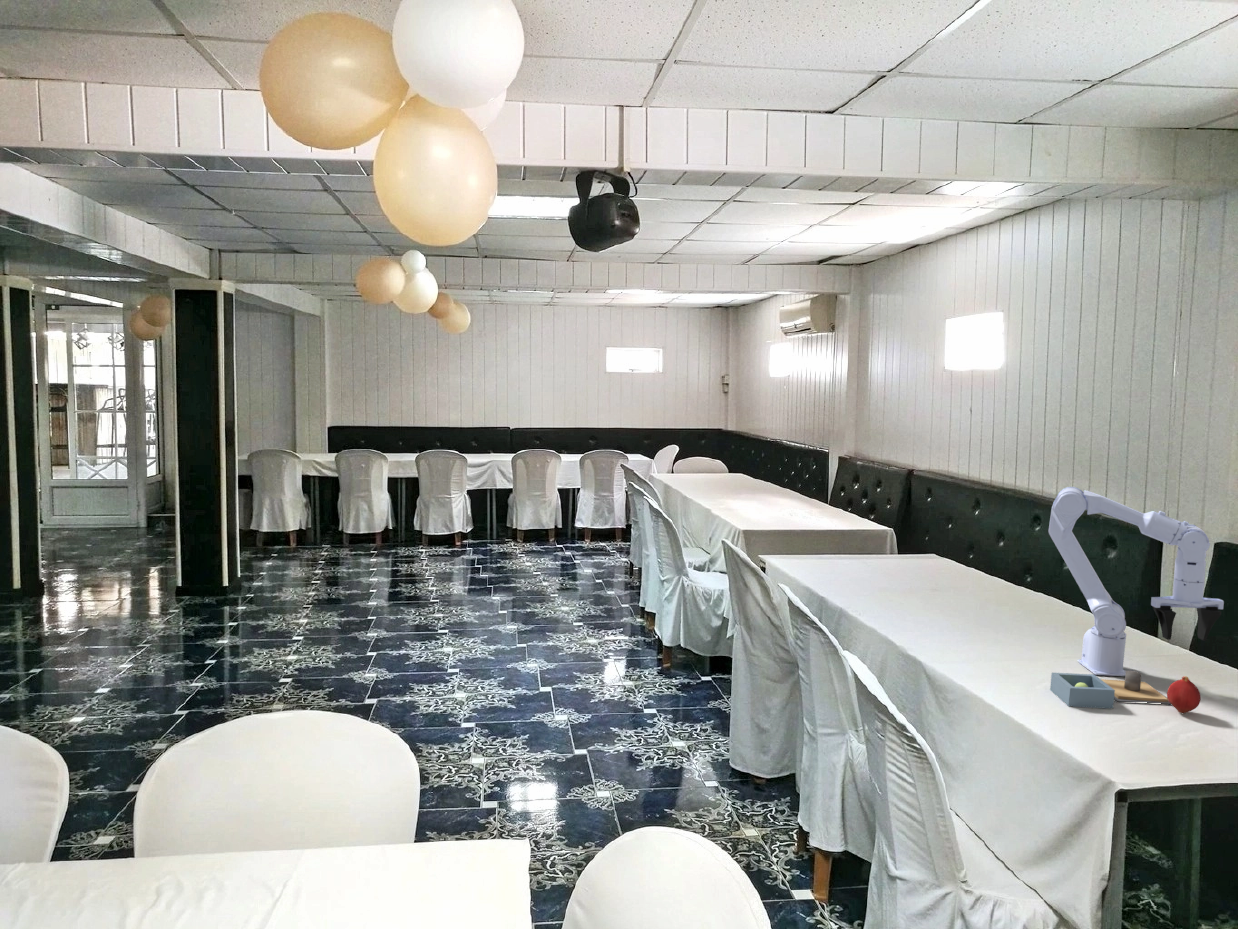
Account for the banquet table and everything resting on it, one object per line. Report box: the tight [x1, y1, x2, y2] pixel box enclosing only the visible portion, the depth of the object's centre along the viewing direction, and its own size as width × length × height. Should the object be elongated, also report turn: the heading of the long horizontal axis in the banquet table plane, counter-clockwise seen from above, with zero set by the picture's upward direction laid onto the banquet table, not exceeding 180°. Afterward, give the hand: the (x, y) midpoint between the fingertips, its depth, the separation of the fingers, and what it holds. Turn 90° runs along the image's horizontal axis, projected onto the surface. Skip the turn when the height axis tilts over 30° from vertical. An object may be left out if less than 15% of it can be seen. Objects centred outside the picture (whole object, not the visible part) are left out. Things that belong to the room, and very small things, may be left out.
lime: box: [1075, 682, 1088, 687], centre depth 182 cm, size 3×3×3 cm
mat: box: [1114, 686, 1171, 704], centre depth 187 cm, size 12×12×1 cm
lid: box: [1100, 670, 1168, 702], centre depth 186 cm, size 10×10×4 cm
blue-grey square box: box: [1049, 672, 1115, 709], centre depth 182 cm, size 9×9×4 cm
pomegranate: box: [1166, 675, 1202, 714], centre depth 176 cm, size 6×6×8 cm
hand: (1184, 638), depth 192 cm, fingers open, 7 cm apart
